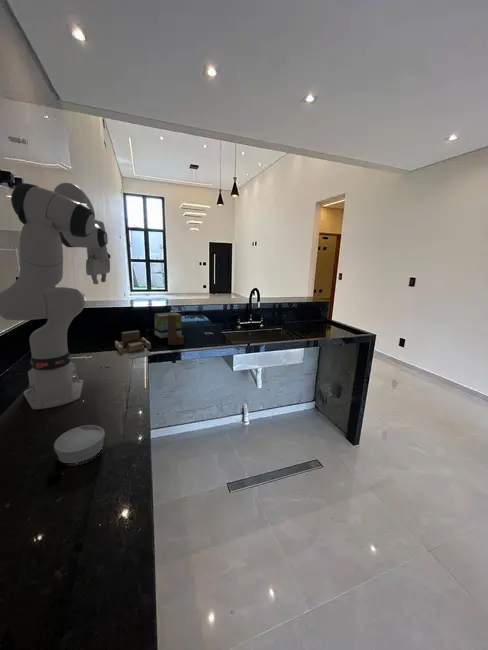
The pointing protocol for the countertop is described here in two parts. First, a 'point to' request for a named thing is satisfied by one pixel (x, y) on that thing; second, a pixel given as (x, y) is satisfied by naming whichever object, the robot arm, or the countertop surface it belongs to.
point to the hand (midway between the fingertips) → (99, 283)
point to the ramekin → (79, 443)
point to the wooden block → (173, 332)
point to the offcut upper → (135, 344)
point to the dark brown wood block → (130, 337)
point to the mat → (139, 354)
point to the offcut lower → (135, 349)
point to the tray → (124, 350)
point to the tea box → (166, 324)
